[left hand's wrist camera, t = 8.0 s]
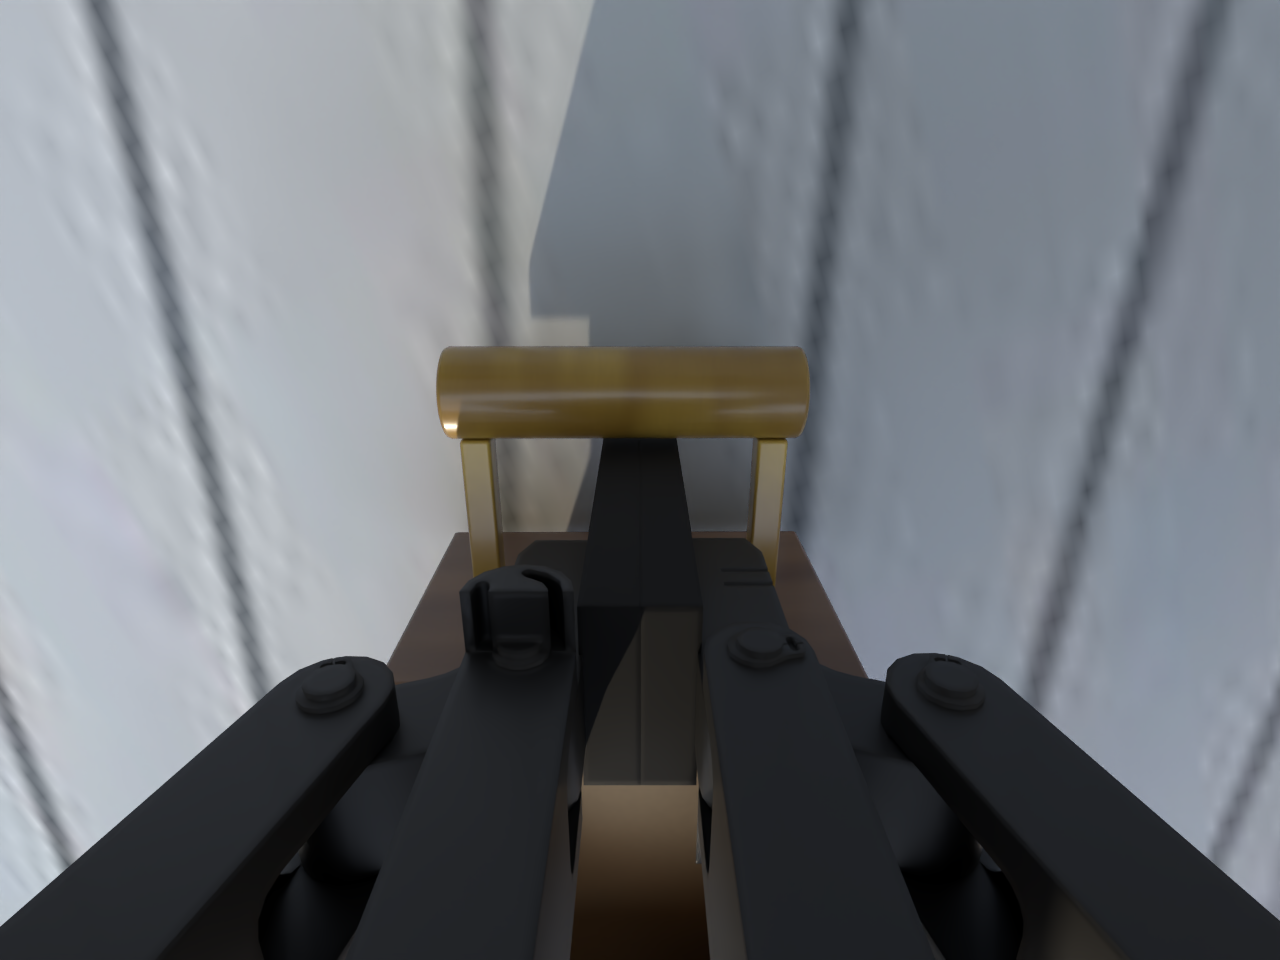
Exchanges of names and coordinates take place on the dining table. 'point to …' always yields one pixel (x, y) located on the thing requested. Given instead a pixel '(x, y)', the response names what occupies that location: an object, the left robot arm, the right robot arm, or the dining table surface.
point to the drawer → (587, 408)
